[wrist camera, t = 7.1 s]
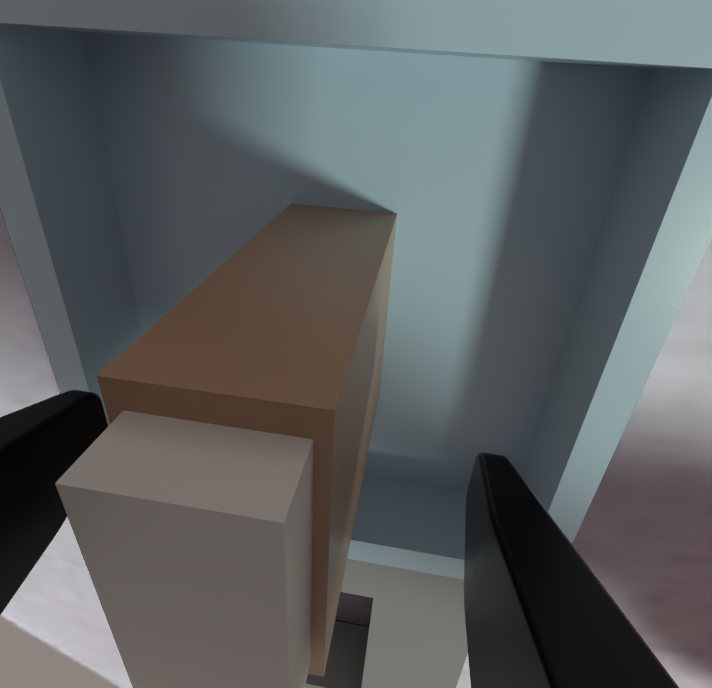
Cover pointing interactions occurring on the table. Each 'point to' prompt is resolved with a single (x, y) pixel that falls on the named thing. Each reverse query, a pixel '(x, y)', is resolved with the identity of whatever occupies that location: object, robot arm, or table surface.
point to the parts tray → (382, 207)
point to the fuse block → (398, 632)
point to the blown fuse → (239, 458)
